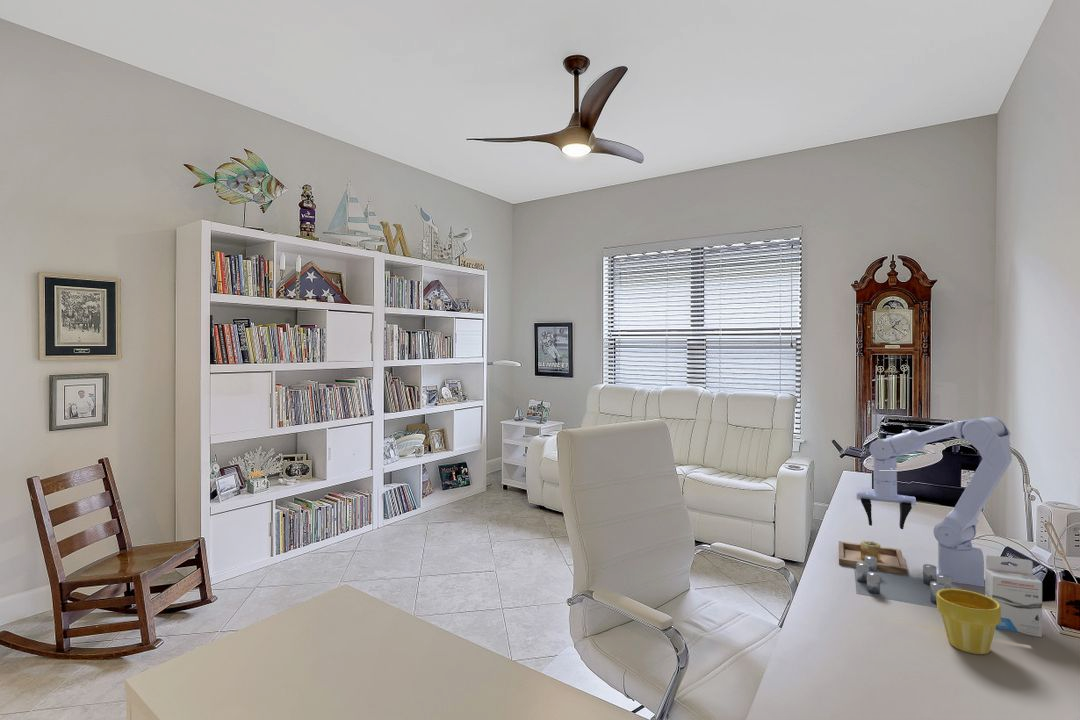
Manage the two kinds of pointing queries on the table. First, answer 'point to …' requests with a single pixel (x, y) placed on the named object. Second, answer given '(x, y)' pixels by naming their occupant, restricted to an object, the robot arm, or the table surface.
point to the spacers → (872, 578)
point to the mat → (899, 589)
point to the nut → (870, 550)
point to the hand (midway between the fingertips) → (885, 526)
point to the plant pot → (968, 619)
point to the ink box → (1015, 594)
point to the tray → (888, 563)
